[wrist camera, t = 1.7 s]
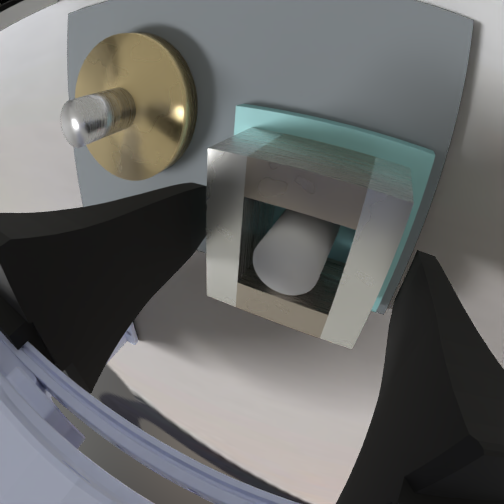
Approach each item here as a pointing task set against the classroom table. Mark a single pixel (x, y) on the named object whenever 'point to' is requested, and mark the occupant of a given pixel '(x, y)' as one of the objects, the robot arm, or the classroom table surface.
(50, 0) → the hinge
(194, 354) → the classroom table surface
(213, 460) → the classroom table surface
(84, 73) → the hub
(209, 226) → the hollow square metal tube
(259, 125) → the stand
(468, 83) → the classroom table surface
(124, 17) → the board
